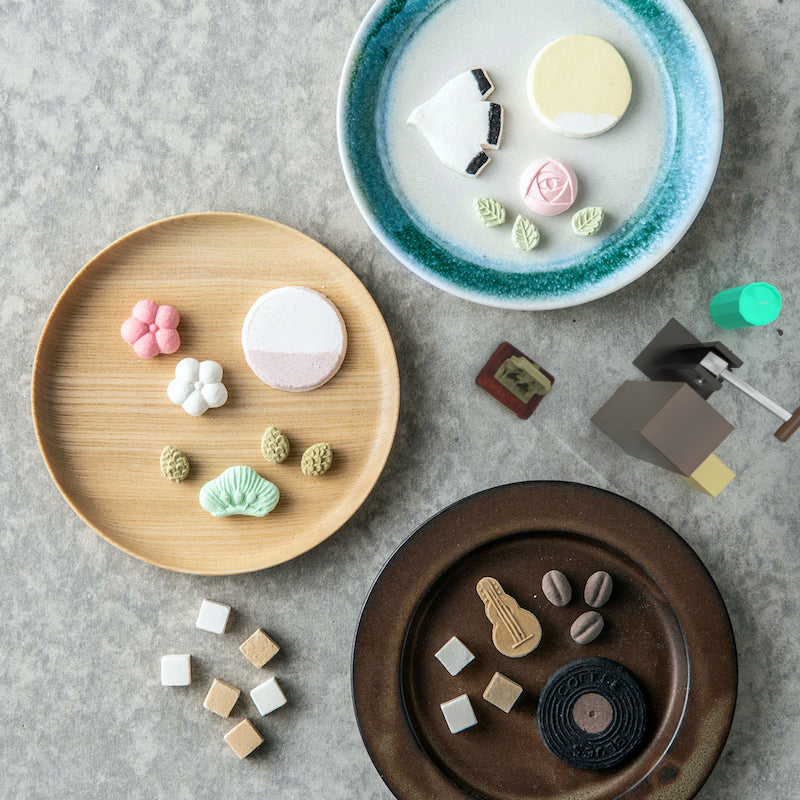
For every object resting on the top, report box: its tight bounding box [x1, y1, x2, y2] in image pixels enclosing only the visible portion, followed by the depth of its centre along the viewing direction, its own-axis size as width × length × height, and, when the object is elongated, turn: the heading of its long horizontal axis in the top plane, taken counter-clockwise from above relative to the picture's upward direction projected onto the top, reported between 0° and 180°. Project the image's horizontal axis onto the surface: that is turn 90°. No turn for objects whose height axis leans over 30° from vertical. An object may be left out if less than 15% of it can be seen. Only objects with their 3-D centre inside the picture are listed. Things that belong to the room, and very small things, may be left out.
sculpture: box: [474, 341, 556, 421], centre depth 101 cm, size 10×8×15 cm
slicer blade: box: [700, 351, 800, 444], centre depth 93 cm, size 14×6×2 cm, turn 48°
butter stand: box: [590, 379, 736, 477], centre depth 96 cm, size 8×8×24 cm
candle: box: [709, 281, 783, 331], centre depth 101 cm, size 6×6×12 cm
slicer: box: [631, 317, 745, 402], centre depth 101 cm, size 12×9×14 cm
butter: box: [677, 452, 737, 499], centre depth 104 cm, size 5×4×8 cm
